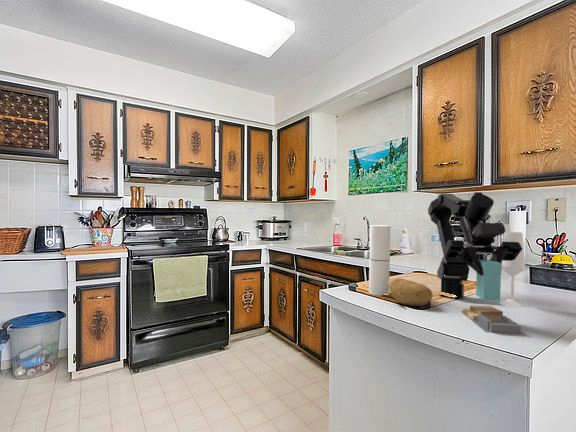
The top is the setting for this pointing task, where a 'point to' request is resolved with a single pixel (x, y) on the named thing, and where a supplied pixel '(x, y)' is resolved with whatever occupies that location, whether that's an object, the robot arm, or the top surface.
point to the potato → (410, 292)
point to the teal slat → (489, 280)
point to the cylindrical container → (379, 259)
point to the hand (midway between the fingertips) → (490, 275)
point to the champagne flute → (513, 266)
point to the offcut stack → (483, 312)
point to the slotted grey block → (497, 325)
